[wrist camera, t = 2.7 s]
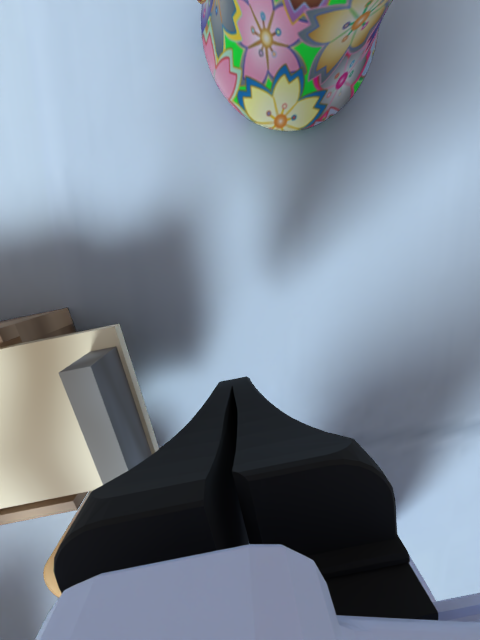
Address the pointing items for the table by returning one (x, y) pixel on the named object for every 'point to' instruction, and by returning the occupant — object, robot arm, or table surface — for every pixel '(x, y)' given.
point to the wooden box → (25, 332)
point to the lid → (69, 415)
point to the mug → (290, 55)
